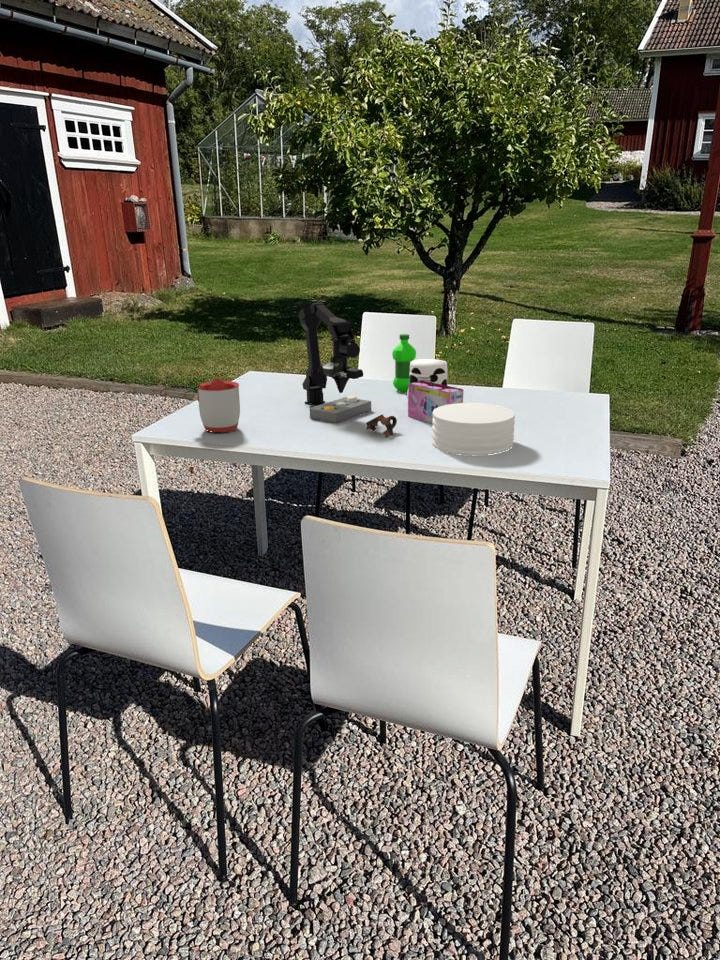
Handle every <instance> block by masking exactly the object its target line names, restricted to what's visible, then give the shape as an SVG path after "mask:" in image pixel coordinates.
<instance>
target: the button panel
mask: <svg viewBox="0 0 720 960" xmlns="http://www.w3.org/2000/svg"><path fill="white" fill-rule="evenodd" d="M347 397H348V396H344V397H342V398H338V399H335V400H332V401H328V402H324V403H321V404H318V405H315V406H313V407H310V408H309V419H310V418H312V419H311V420H316V419H317V420H316V421H321V420H322V422H326V423H327V422H328V423H334V424H339V423H341V422H344V421H346V420H349V419H352V418H355V417H358V416H361V415H363V413H364V414H366V413H369V412H372V400H366V399H361V398H357V402H355V403H350V402H347ZM339 402H344V403H346V406H344V407H339V406H336V403H339ZM326 406H333V407H335V410H332V411H328V410H324V407H326ZM360 414H361V415H360Z"/></svg>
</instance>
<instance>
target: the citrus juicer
mask: <svg viewBox="0 0 720 960" xmlns="http://www.w3.org/2000/svg"><path fill="white" fill-rule="evenodd" d="M239 388H240V384H239V382H237V381H232V380H230V381H229V380H223V379H221V378H220V377H218V376H216V377H215V378H214V379H213V380H212V381H207V382H201V383H200V384H199V383H198V387H197V390H196V391H197V393H196V394H194V397H193V399H192V401H197V402H198V410H199V416H200V420H201V423H202V425H203V428H204V429H205V431H206V430H208V431H212V432H214V433H215V432H221V433H229V432H228V431H231V432H232V431H235V430H237V428H238V425H239V421H240V416H241V415H240V414H241V404H240V403H241V401H240V390H239ZM208 431H207V432H208Z"/></svg>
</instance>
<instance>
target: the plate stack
mask: <svg viewBox="0 0 720 960" xmlns="http://www.w3.org/2000/svg"><path fill="white" fill-rule="evenodd" d="M515 418H516V412H515V411H514V410H512V408H511V409H510V408H509V407H506V406H503V405H502V406H501V405H497V404H491V403H485V402H484V403H482V402H463V403H457V404H449V405H444V406H440V407H438V408H436V409H434V410H433V419H432V423H431V424H432V426H431V430H432V434H431V435H432V436H431V438H432V439H431V445H432V447H433V446H434V447H435V448H434V449H436V448H437V449H439V450H441V451H440V452H442V451H444V452H443V453H445V452H448V453H447V454H449V453H453V454H452V455H454V454H461V455H488V454H494V453H499V452H503V451H506V450H508V449H510V448H511V447H512V446H513V447H514V439H515V438H514V437H515V435H514V434H515V421H516V420H515ZM437 449H436V450H437ZM439 450H438V451H439ZM461 455H460V456H461Z"/></svg>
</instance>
